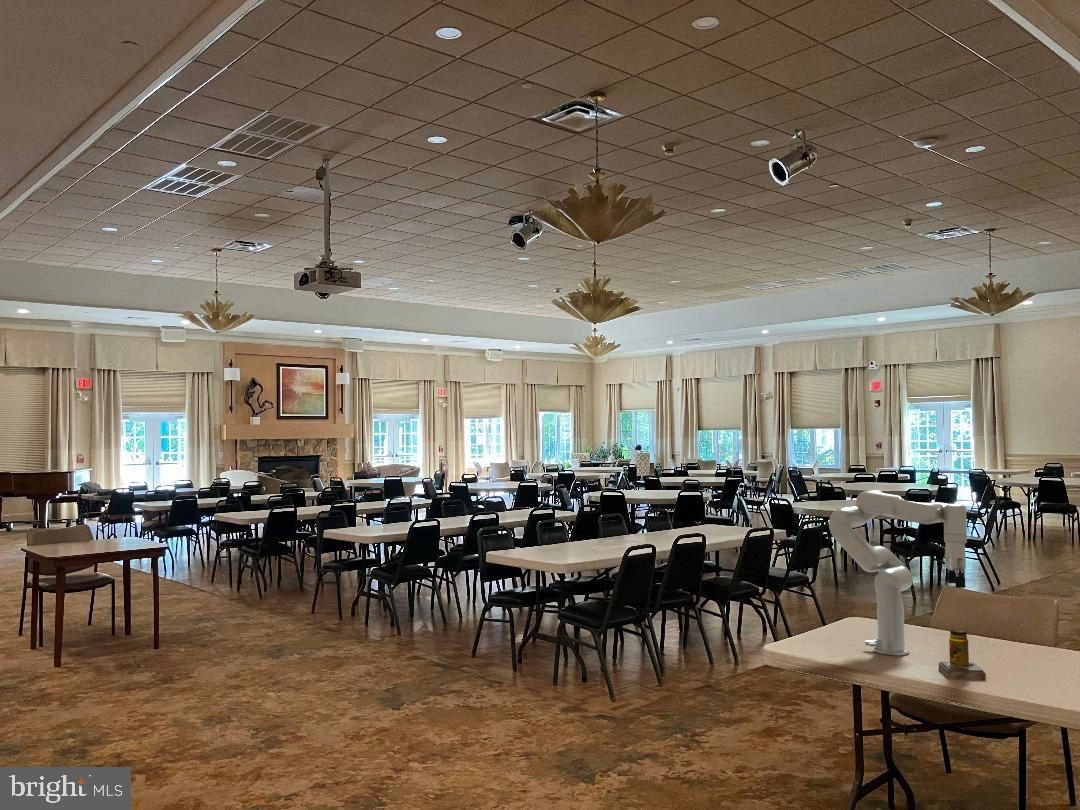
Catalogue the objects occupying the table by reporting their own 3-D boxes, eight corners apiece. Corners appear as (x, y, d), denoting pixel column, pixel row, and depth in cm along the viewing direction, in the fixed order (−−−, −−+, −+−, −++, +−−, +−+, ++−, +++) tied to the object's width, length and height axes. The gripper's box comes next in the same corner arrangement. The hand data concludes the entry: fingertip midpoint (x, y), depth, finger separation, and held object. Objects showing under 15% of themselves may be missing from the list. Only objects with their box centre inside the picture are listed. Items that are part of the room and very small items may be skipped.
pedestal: (948, 678, 309) (948, 669, 309) (938, 669, 321) (938, 660, 321) (985, 679, 307) (985, 670, 307) (974, 670, 319) (974, 661, 319)
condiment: (945, 666, 314) (945, 631, 315) (952, 661, 321) (952, 627, 321) (968, 669, 310) (967, 634, 310) (975, 664, 316) (974, 629, 317)
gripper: (938, 535, 339) (939, 581, 338) (951, 541, 322) (952, 589, 321) (959, 535, 338) (960, 581, 337) (973, 541, 321) (974, 589, 320)
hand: (956, 585), depth 329 cm, fingers open, 9 cm apart
